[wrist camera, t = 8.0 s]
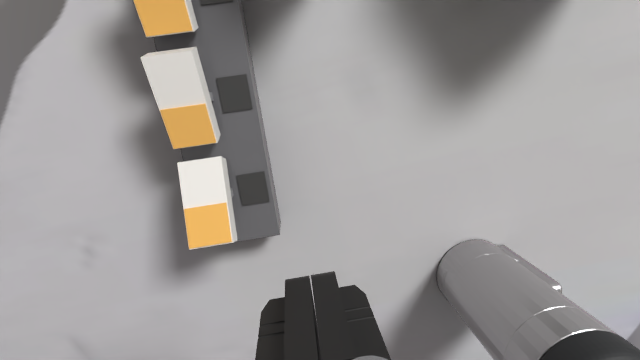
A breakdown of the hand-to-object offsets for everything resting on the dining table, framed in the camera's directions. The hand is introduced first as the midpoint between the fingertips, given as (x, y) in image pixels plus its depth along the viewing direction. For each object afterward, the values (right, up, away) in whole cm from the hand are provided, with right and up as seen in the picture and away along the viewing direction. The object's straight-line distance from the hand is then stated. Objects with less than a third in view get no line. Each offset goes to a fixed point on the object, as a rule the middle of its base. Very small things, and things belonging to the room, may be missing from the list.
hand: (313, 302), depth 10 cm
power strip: (-10, +13, +26) cm, 31 cm away
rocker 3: (-10, +2, +23) cm, 25 cm away
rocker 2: (-12, +11, +19) cm, 25 cm away
